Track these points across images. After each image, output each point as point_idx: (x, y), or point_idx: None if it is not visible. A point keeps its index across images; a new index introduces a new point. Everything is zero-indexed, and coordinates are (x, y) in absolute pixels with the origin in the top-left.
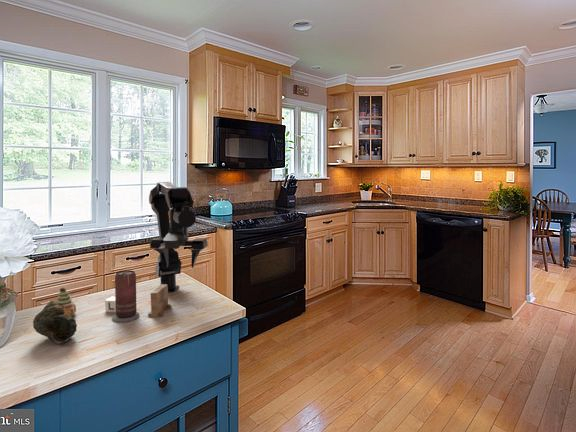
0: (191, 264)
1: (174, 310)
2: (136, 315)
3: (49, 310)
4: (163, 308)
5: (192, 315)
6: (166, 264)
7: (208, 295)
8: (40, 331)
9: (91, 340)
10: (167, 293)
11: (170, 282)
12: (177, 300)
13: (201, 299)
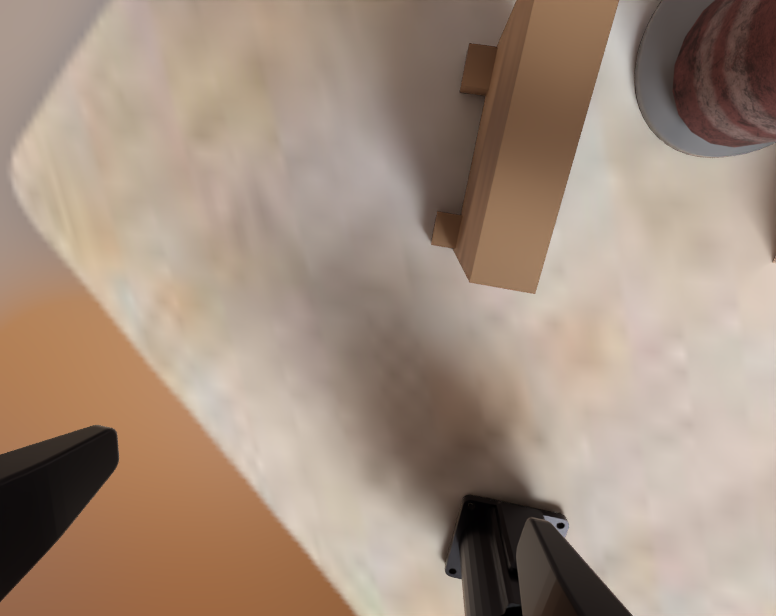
0: (50, 455)
1: (400, 181)
2: (660, 57)
3: None
4: (473, 163)
5: (264, 78)
6: (552, 555)
7: (248, 416)
8: None
9: None
10: (463, 257)
11: (492, 561)
12: (414, 357)
13: (273, 358)
